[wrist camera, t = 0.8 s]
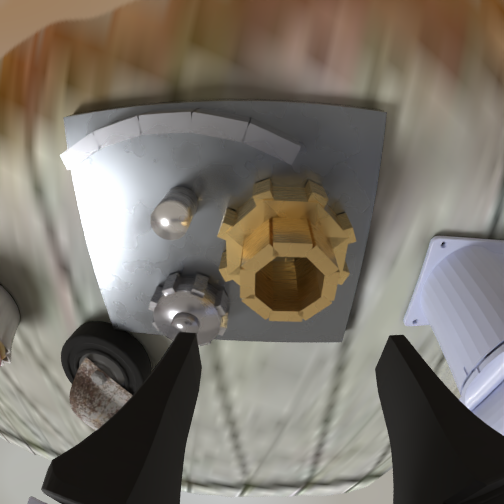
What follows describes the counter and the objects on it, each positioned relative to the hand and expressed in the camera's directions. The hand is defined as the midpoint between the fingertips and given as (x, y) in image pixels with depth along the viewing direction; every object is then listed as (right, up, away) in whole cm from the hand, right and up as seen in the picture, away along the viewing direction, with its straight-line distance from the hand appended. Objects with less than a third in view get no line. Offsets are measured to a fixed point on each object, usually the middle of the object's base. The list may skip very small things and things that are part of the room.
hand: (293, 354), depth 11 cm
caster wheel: (-15, -7, +17) cm, 23 cm away
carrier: (-4, +5, +9) cm, 11 cm away
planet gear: (0, +5, +7) cm, 9 cm away
